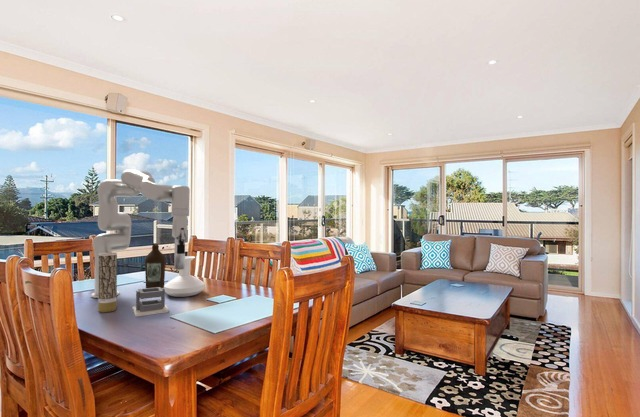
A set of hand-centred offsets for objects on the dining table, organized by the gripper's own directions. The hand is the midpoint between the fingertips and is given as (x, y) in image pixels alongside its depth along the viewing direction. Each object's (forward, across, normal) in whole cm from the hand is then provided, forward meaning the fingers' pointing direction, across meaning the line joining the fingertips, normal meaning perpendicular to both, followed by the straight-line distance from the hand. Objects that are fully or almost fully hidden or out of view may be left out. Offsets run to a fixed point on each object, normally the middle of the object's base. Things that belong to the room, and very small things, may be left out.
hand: (179, 252), depth 162 cm
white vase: (+25, -23, +7) cm, 35 cm away
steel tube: (+7, 0, 0) cm, 7 cm away
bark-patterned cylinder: (+25, -10, -28) cm, 39 cm away
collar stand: (+25, 0, -12) cm, 28 cm away
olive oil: (+26, -47, -4) cm, 54 cm away
